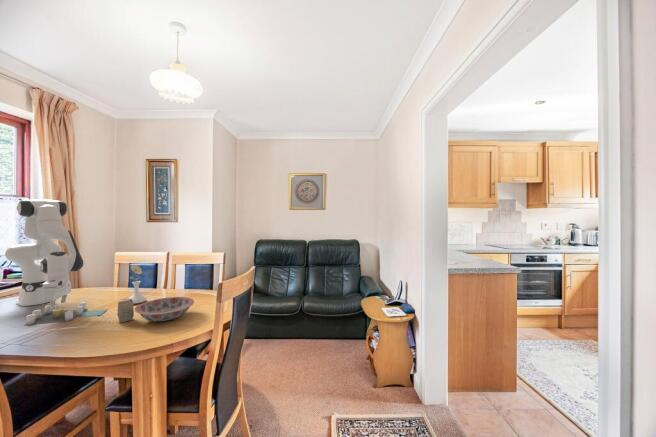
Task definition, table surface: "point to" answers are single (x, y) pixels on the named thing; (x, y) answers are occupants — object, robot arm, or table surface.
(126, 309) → the carving
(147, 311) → the ceramic bowl
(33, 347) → the table surface
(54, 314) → the brass nut
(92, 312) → the teal tile
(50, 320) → the spacer mat
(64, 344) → the table surface
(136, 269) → the flower in vase
